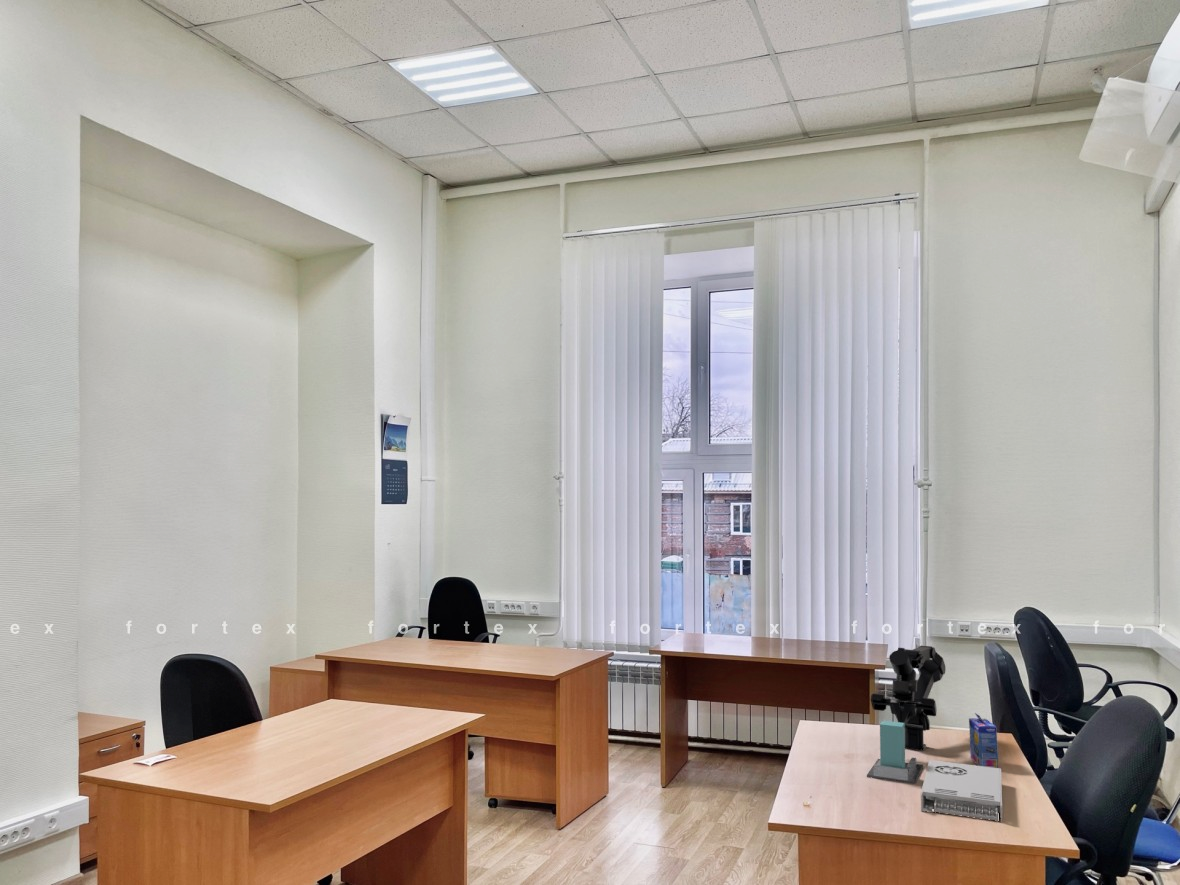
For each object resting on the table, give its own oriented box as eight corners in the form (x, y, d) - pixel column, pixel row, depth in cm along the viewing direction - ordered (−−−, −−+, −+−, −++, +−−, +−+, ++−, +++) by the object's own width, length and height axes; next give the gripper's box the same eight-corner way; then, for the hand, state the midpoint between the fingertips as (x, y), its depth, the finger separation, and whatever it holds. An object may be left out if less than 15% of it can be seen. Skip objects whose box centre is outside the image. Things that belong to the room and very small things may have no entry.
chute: (878, 760, 271) (877, 748, 272) (923, 766, 265) (923, 754, 266) (866, 776, 255) (866, 764, 256) (914, 783, 249) (914, 770, 250)
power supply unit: (920, 814, 227) (920, 793, 227) (929, 777, 257) (929, 759, 257) (1002, 825, 219) (1002, 804, 220) (1001, 786, 249) (1001, 768, 250)
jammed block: (883, 769, 260) (882, 720, 261) (905, 772, 257) (904, 722, 258) (880, 774, 255) (879, 724, 256) (902, 777, 253) (901, 726, 254)
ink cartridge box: (968, 758, 275) (967, 710, 276) (987, 758, 274) (986, 710, 275) (979, 767, 265) (978, 717, 266) (999, 768, 264) (997, 718, 265)
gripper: (870, 666, 280) (865, 710, 269) (934, 672, 271) (931, 717, 261) (875, 687, 286) (870, 730, 276) (938, 693, 278) (934, 738, 267)
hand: (900, 728), depth 270 cm, fingers closed
